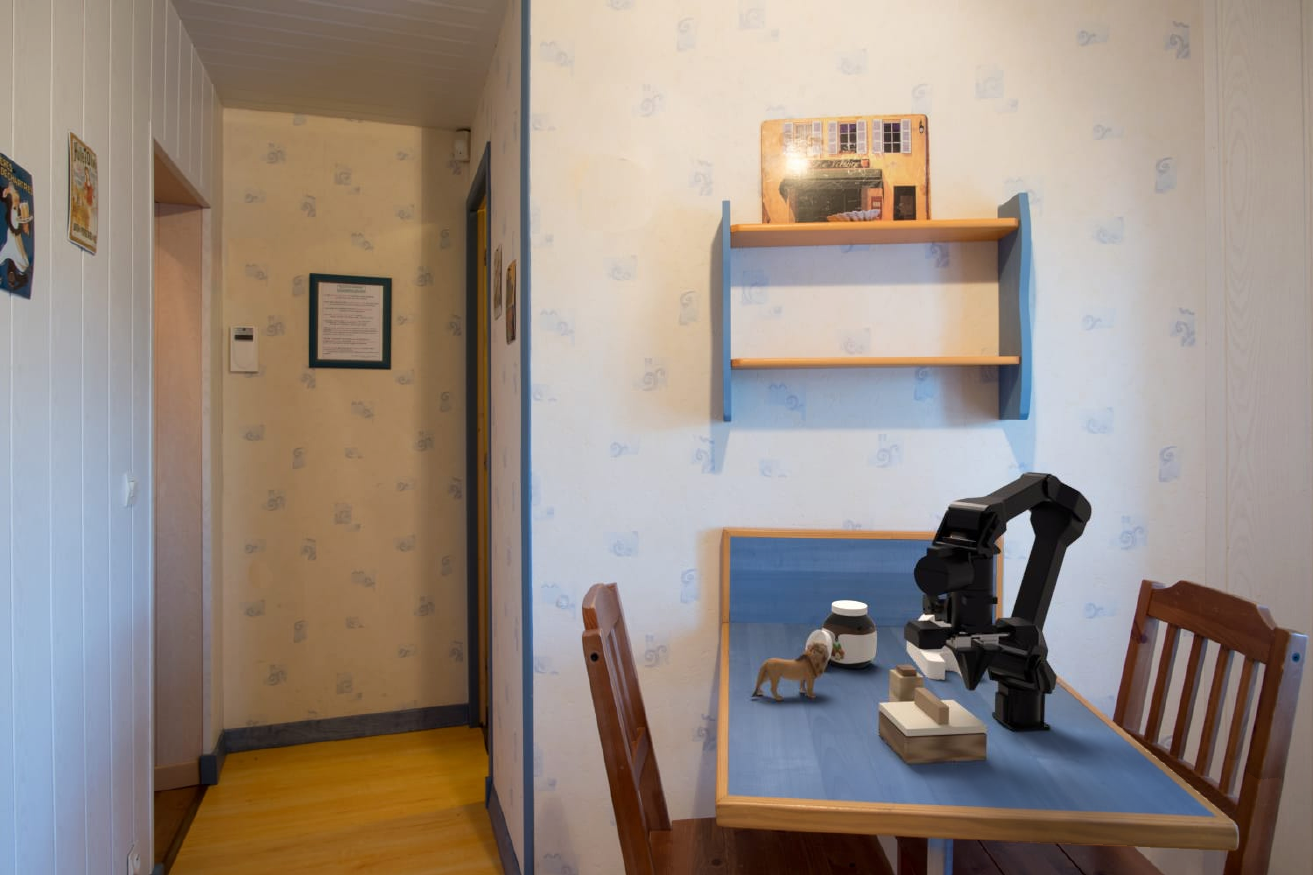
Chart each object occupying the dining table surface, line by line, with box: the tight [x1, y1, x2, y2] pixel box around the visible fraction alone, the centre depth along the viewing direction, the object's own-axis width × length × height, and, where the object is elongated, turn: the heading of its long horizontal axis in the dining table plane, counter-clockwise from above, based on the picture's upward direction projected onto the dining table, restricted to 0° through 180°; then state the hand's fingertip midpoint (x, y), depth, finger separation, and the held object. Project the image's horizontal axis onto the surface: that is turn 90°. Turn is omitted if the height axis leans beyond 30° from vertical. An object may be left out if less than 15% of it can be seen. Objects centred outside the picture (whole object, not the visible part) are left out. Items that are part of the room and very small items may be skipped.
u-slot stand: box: [906, 613, 965, 680], centre depth 156 cm, size 10×18×11 cm, turn 176°
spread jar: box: [805, 600, 878, 669], centre depth 156 cm, size 12×11×12 cm
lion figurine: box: [750, 642, 829, 701], centre depth 139 cm, size 15×5×9 cm, turn 108°
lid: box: [878, 687, 988, 736], centre depth 118 cm, size 12×10×4 cm
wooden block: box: [888, 664, 925, 702], centre depth 130 cm, size 4×4×8 cm
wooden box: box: [878, 710, 988, 765], centre depth 118 cm, size 12×10×4 cm
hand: (970, 689), depth 119 cm, fingers closed
